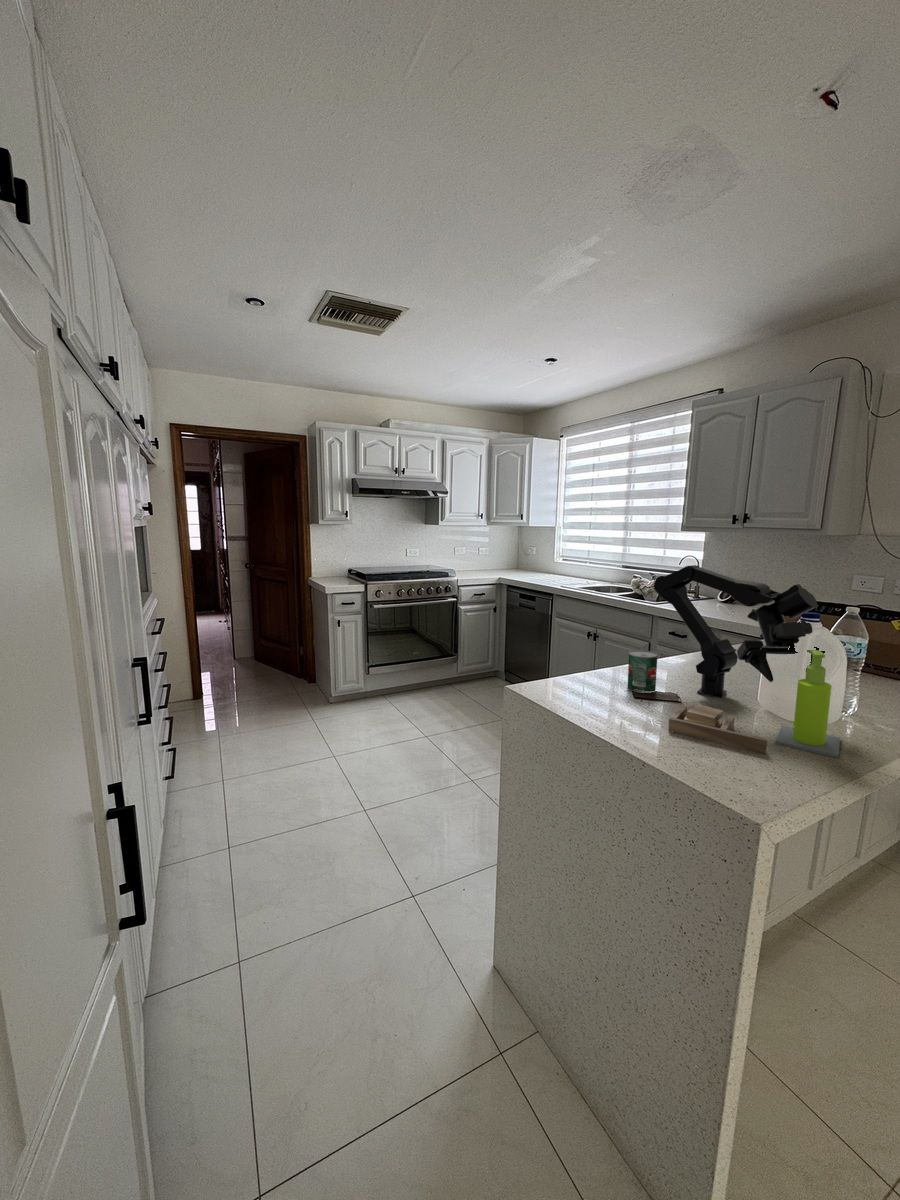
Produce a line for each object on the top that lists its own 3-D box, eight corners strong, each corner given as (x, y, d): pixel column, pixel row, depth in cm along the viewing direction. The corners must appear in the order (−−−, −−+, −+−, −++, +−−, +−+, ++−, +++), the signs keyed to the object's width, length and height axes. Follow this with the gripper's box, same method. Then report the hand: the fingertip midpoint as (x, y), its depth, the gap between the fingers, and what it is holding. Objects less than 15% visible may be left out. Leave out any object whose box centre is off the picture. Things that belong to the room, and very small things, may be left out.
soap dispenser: (818, 734, 111) (827, 649, 108) (829, 747, 105) (839, 656, 102) (788, 730, 113) (796, 647, 110) (796, 743, 107) (805, 654, 104)
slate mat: (781, 727, 117) (781, 725, 117) (840, 740, 110) (840, 737, 110) (775, 743, 108) (775, 741, 108) (838, 758, 101) (838, 755, 101)
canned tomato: (624, 684, 149) (626, 649, 148) (651, 685, 148) (653, 650, 147) (630, 693, 142) (632, 656, 140) (659, 694, 141) (661, 657, 139)
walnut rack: (681, 716, 124) (682, 705, 124) (772, 737, 112) (773, 724, 111) (668, 730, 116) (669, 718, 115) (765, 754, 103) (766, 741, 103)
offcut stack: (689, 720, 122) (691, 702, 121) (722, 727, 117) (723, 709, 117) (680, 730, 116) (681, 712, 115) (714, 738, 111) (716, 720, 110)
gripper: (745, 607, 119) (764, 664, 110) (830, 608, 116) (855, 666, 107) (729, 632, 128) (745, 686, 119) (807, 633, 125) (829, 689, 116)
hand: (792, 681), depth 115 cm, fingers open, 9 cm apart
